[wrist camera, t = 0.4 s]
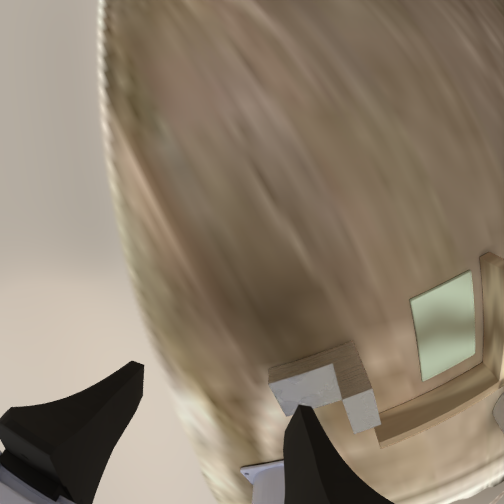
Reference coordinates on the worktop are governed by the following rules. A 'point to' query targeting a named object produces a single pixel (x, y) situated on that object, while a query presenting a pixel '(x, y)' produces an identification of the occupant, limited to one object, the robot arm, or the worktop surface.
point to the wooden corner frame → (452, 351)
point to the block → (327, 385)
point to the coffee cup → (499, 412)
